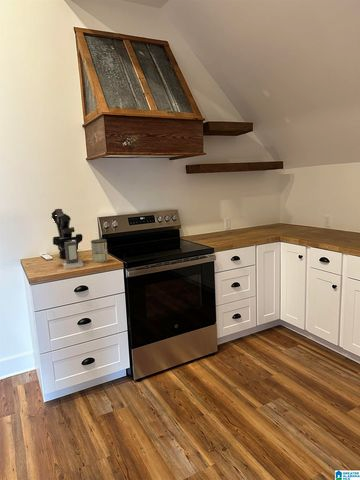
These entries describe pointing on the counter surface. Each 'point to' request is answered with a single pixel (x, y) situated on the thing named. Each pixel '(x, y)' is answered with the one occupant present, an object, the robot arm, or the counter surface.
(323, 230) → the counter surface
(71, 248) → the photo frame
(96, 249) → the coffee can
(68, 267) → the picture stand
